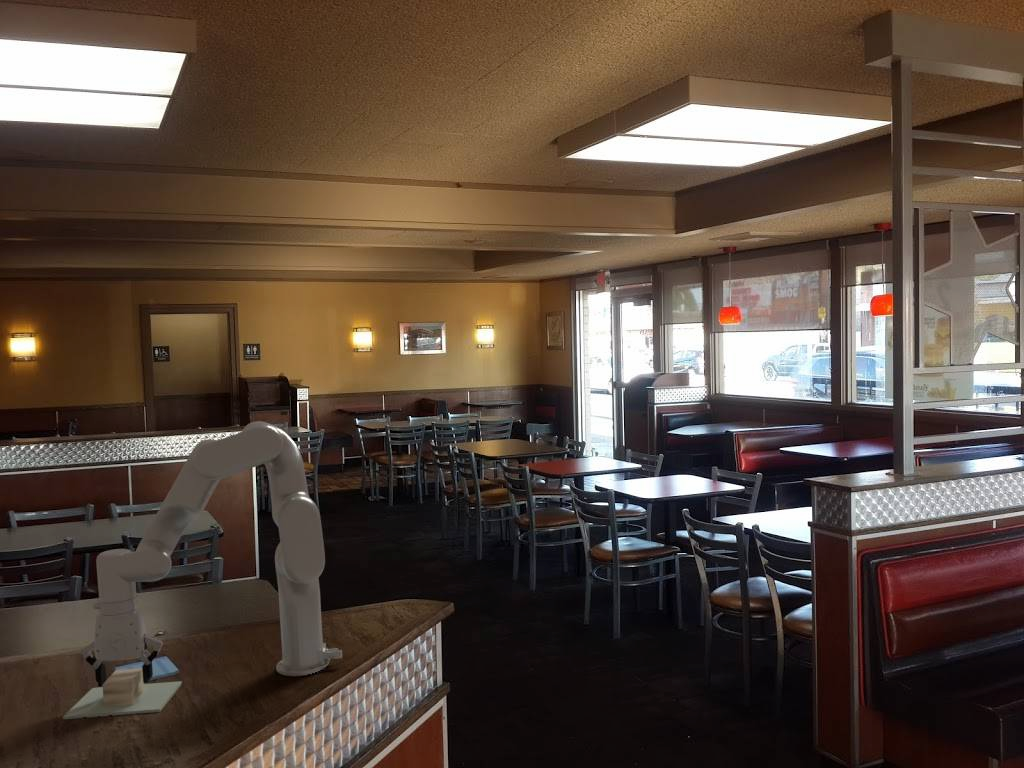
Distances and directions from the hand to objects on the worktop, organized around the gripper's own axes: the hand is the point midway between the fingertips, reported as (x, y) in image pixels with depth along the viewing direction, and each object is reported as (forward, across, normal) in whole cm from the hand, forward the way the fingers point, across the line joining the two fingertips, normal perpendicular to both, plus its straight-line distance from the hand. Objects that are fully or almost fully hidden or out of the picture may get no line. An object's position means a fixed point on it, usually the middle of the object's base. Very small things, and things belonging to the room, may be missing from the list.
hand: (125, 682), depth 199 cm
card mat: (+4, 0, 0) cm, 4 cm away
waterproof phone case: (+5, -2, +18) cm, 19 cm away
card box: (+3, 0, 0) cm, 3 cm away
